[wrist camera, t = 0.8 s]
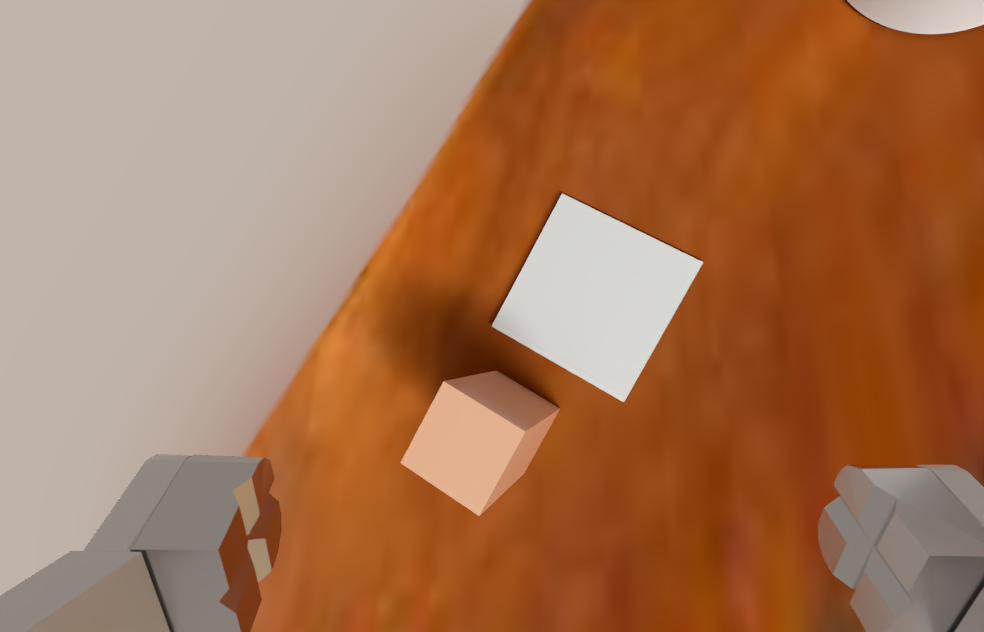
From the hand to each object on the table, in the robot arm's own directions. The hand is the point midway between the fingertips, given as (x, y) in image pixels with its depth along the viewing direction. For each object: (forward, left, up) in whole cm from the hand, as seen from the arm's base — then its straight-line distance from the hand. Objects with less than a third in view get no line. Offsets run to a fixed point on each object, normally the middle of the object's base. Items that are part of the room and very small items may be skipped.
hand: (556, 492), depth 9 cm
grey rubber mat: (-3, -6, -39) cm, 39 cm away
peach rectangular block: (+9, -7, -39) cm, 41 cm away
